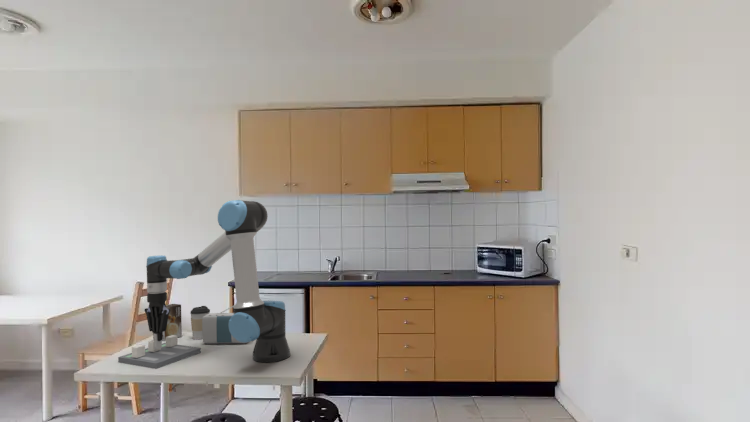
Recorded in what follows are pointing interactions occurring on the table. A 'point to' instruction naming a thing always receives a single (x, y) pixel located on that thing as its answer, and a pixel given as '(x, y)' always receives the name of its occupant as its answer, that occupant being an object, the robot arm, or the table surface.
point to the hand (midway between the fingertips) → (158, 348)
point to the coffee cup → (198, 321)
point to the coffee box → (173, 322)
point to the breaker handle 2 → (171, 341)
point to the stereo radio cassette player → (217, 328)
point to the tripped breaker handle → (152, 346)
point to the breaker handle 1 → (138, 351)
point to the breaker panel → (161, 356)
